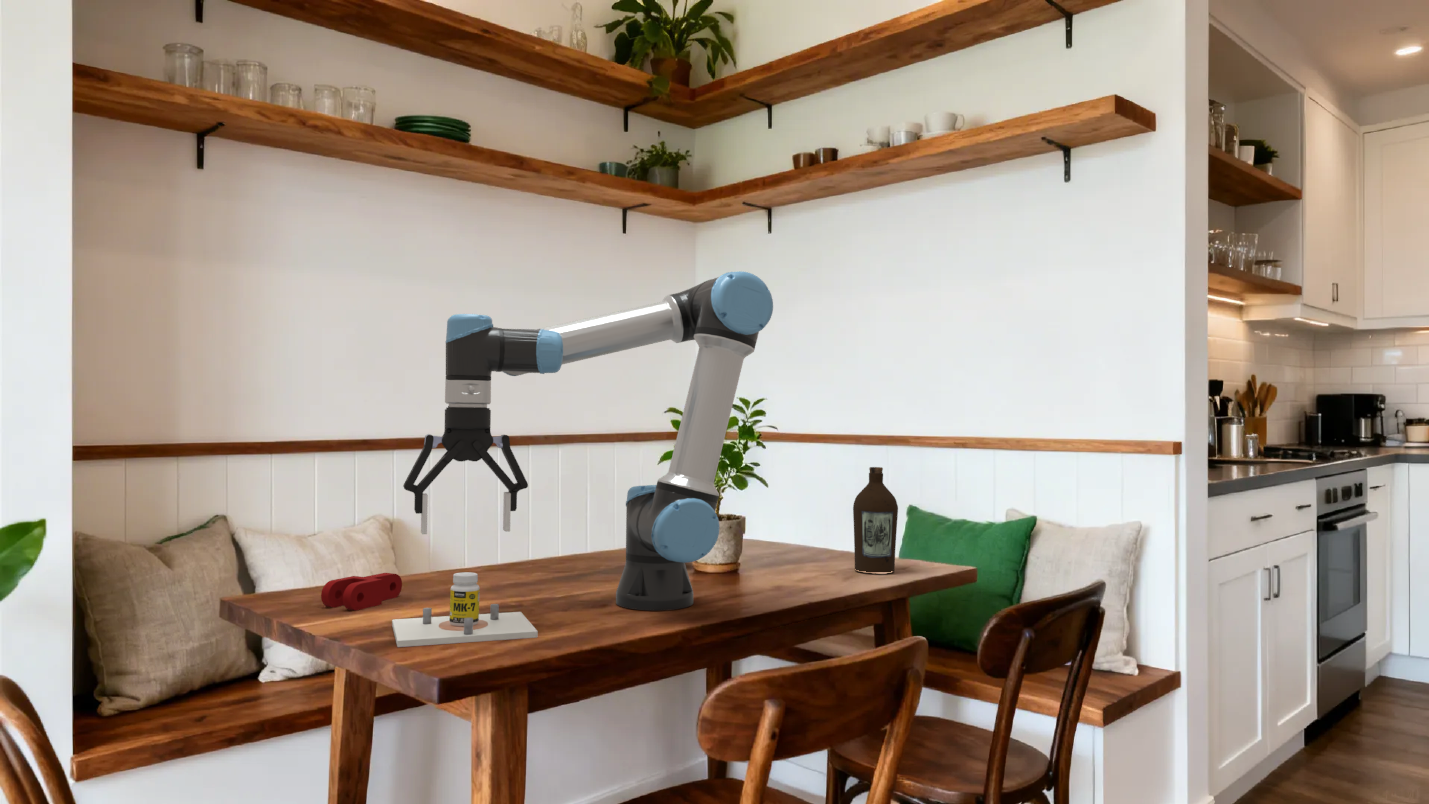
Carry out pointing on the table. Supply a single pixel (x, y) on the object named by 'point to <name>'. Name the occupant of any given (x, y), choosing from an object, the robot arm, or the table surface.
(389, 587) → the mechanical linkage
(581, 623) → the table surface
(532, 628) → the pin plate
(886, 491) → the olive oil
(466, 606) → the supplement bottle
